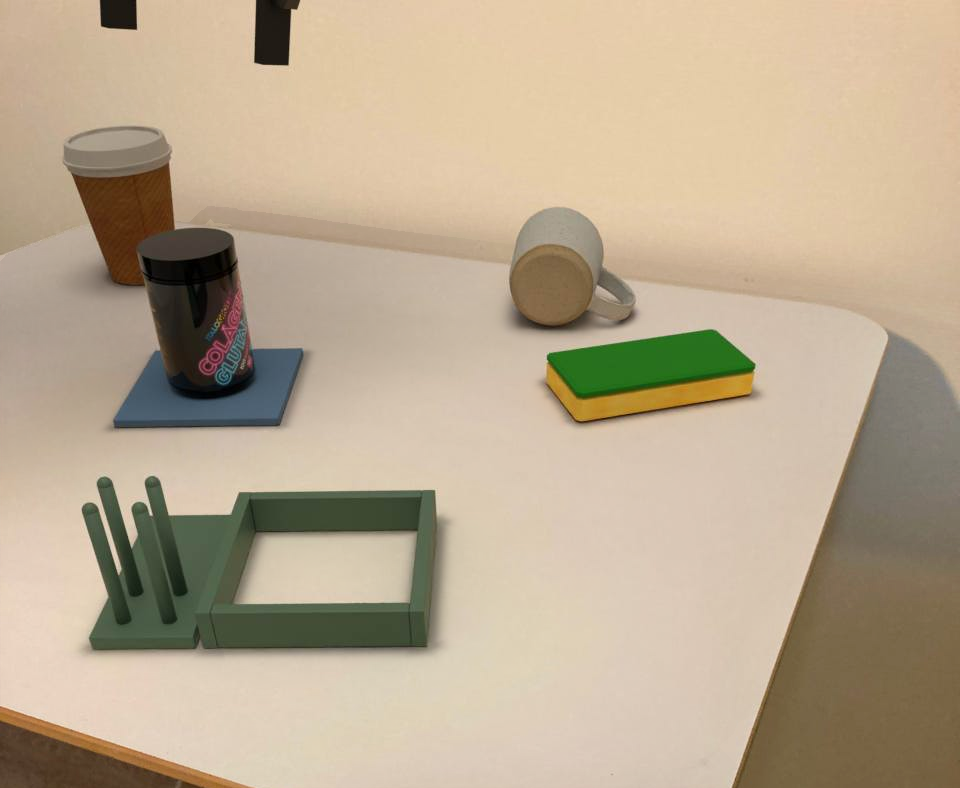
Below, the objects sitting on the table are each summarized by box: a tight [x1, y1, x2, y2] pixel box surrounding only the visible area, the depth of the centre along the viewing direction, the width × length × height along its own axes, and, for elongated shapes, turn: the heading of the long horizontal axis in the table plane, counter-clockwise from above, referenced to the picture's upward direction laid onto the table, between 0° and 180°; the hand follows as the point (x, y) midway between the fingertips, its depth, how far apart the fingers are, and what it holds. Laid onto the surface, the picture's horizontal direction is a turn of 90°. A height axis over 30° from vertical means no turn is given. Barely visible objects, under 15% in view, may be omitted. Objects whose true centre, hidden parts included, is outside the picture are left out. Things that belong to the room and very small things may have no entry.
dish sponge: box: [545, 328, 757, 422], centre depth 77 cm, size 7×14×2 cm, turn 106°
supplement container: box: [136, 227, 256, 399], centre depth 76 cm, size 7×7×10 cm
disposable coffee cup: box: [61, 125, 176, 286], centre depth 95 cm, size 10×10×12 cm
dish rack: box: [81, 475, 438, 650], centre depth 57 cm, size 18×12×8 cm, turn 89°
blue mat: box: [112, 347, 304, 428], centre depth 79 cm, size 12×12×1 cm
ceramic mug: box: [508, 206, 637, 327], centre depth 87 cm, size 11×8×8 cm
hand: (192, 46), depth 72 cm, fingers open, 13 cm apart
